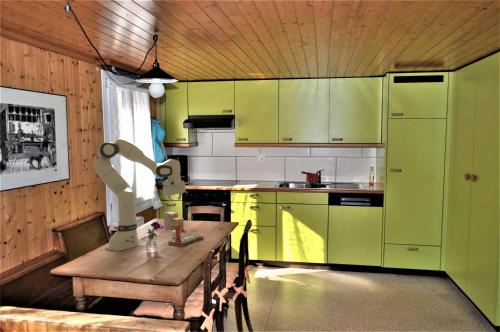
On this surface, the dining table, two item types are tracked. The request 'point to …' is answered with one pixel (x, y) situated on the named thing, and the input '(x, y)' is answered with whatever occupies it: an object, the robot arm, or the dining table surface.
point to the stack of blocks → (173, 220)
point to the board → (186, 240)
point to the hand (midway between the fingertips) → (175, 200)
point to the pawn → (177, 233)
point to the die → (174, 234)
